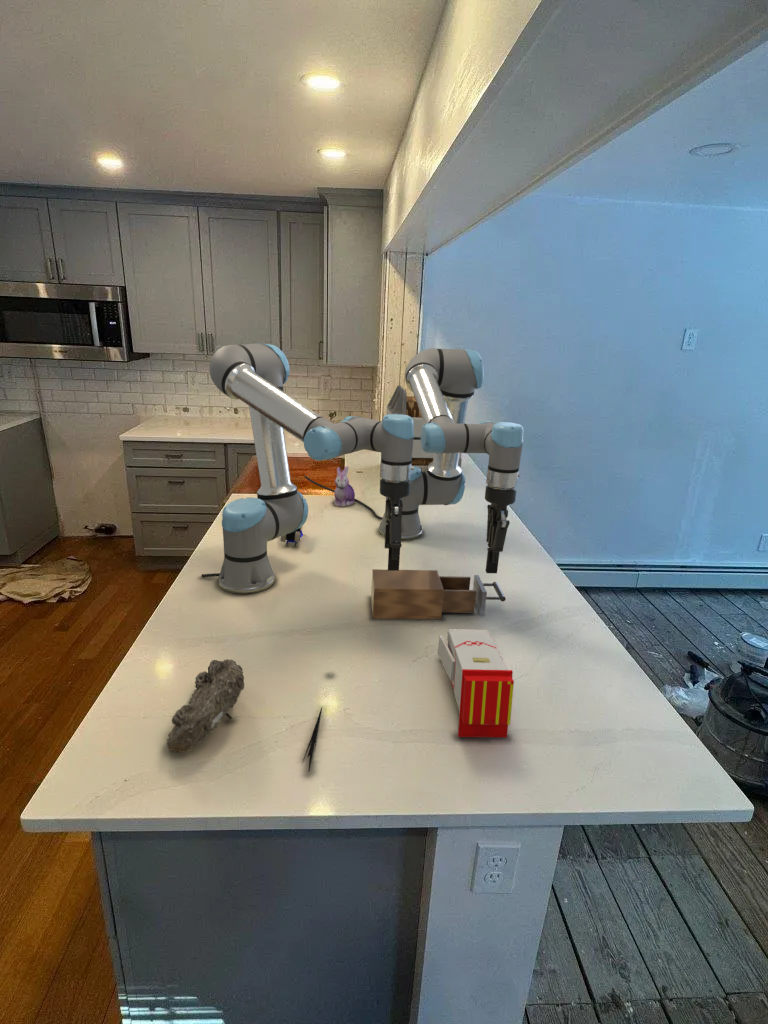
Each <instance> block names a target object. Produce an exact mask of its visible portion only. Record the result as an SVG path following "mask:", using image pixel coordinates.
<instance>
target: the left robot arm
mask: <svg viewBox="0 0 768 1024" xmlns="http://www.w3.org/2000/svg"><path fill="white" fill-rule="evenodd" d="M208 370H209V376H210V378H211V381H212V383H213V384H214V386H215V387H216V388H217V389H218V391H220V392H222V394H224V395H225V396H227V397H228V398H230V399H231V400H235V401H237V400H240V401H242V402H243V403H244V404H245V405H248V409H249V415H250V423H251V428H252V435H253V441H254V448H255V456H256V460H257V468H258V475H259V482H260V487H259V488H258V490H257V491H256V497H246V498H238V499H235V500H233V501H230V502H229V503H227V504H226V505H225V506H224V507H223V509H222V512H221V513H222V514H221V527H222V541H223V542H222V543H223V557H224V558H223V561H222V565H221V568H220V572H215V573H213V572H212V573H202V574H201V575H200V577H201V578H214V577H216V578H217V577H218V585H219V587H220V589H222V590H223V591H225V592H227V593H232V594H237V595H248V594H256V593H259V592H262V591H265V590H267V589H269V588H270V587H272V586H273V584H274V583H275V572H274V570H273V567H272V564H271V561H270V559H269V557H268V542H270V541H273V540H276V539H278V538H281V536H283V535H285V534H289V533H292V532H294V531H295V530H297V529H299V528H301V527H303V526H304V525H305V524H306V522H307V520H308V517H309V505H308V502H307V499H306V498H304V495H303V493H301V492H299V491H298V487H297V485H295V484H294V483H293V482H292V480H291V472H290V466H289V459H288V451H287V446H286V445H287V444H286V439H285V431H286V432H287V433H289V434H290V435H291V436H293V437H295V439H298V440H300V441H301V442H302V443H303V448H304V450H305V452H306V453H307V455H308V457H310V458H311V459H312V460H314V461H317V462H321V461H329V460H333V459H336V458H339V457H342V456H345V455H348V454H352V453H356V452H359V451H363V450H365V451H370V452H371V451H372V452H376V453H380V468H379V469H380V471H379V477H380V478H381V479H380V480H379V494H380V495H381V496H382V497H385V498H386V497H387V500H386V499H385V504H386V516H385V518H386V524H388V525H386V528H385V537H384V549H388V555H387V556H388V557H387V558H388V559H387V570H388V571H399V570H400V561H401V548H402V546H403V545H402V540H401V519H402V509H403V503H402V500H400V499H401V498H403V497H404V498H405V497H407V496H409V495H410V486H411V481H410V480H409V479H410V478H411V471H410V470H414V466H411V465H412V450H413V438H414V421H413V419H412V417H410V416H408V415H403V414H388V415H386V414H385V415H384V416H383V417H382V420H377V419H371V418H368V417H362V416H358V415H357V416H353V415H348V416H346V417H345V418H344V419H342V420H341V421H340V422H338V423H333V422H332V421H330V420H328V419H327V418H325V417H323V416H322V415H320V414H318V413H317V412H315V410H312V409H311V408H309V407H308V406H306V405H305V404H303V403H301V402H300V401H299V400H297V399H295V398H294V397H292V396H291V395H289V394H288V393H286V392H285V389H284V385H285V384H286V383H287V382H288V378H289V377H290V364H289V360H288V358H287V356H286V354H285V352H283V350H281V349H280V348H279V347H278V346H276V345H274V344H269V343H264V342H263V343H247V344H246V343H245V344H228V345H224V346H221V347H220V348H219V349H217V350H216V351H215V352H214V353H213V355H212V357H211V359H210V362H209V368H208Z"/></svg>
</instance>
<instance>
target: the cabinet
mask: <svg viewBox="0 0 768 1024" xmlns="http://www.w3.org/2000/svg"><path fill="white" fill-rule="evenodd" d="M439 576H440V575H439V571H438V570H437V569H399V571H388V569H373V568H372V570H371V591H370V593H371V594H370V595H371V596H370V599H371V600H370V601H371V613H372V619H382V620H383V619H384V620H385V619H388V620H389V619H390V620H391V619H392V620H393V619H394V620H395V619H396V620H397V619H400V620H441V619H442V614H443V612H442V603H443V592H444V589H443V586H442V583H441V580H440V577H439Z"/></svg>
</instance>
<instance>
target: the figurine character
mask: <svg viewBox="0 0 768 1024" xmlns="http://www.w3.org/2000/svg"><path fill="white" fill-rule="evenodd" d="M303 536H304V533H303V526H302V527H301V528H299V529H297V530H295V531H294V532H292V533H289V534H285V535H283V536H280V542H282V543H285V547H288V546H289V543H291V544H292V543H293V544H294V545H293V546H294V547H297V545H298V543H299V542H301V538H302V537H303Z"/></svg>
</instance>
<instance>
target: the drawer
mask: <svg viewBox="0 0 768 1024" xmlns="http://www.w3.org/2000/svg"><path fill="white" fill-rule="evenodd" d="M439 577H440V580H441V583H442V586H443V589H444V592H443V603H442V613H465V614H466V613H468V614H469V613H470V614H471V613H473V614H474V613H475V609H477V612H478V614H479V616H485V614H486V604H487V601H488V600H490V601H493V600H494V601H500V602H503V603H504V602H505V601H506V596H505V594H504V592H503V591H502V588H501V587H500V585H499V583H498V582H497V581H492V583H491V582H483V581H482V579H481V577H480V575H479V574H474V576H473V584H472V589H471V588H470V587H471V579H472V578H471V576H451V575H450V576H449V575H448V576H447V575H444V576H441V575H439ZM486 587H493V589H494V591H495V592H496V595H497V596H487V595H488V591H487V589H486Z"/></svg>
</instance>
